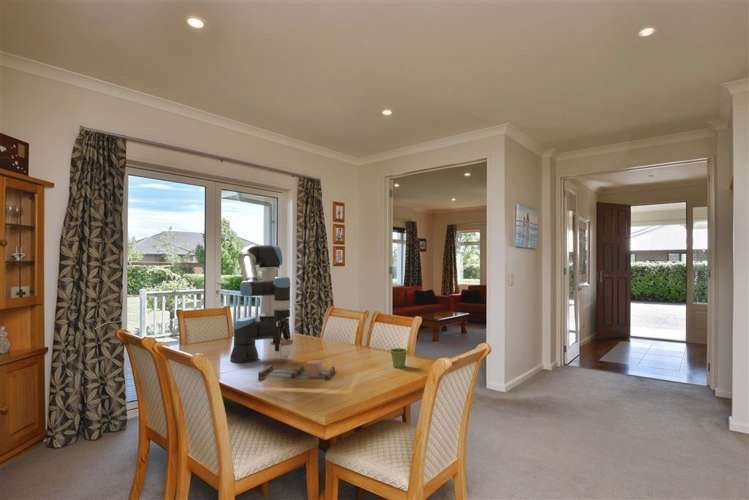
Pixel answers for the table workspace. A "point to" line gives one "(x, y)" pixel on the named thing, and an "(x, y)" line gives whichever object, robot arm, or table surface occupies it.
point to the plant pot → (398, 357)
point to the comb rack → (292, 373)
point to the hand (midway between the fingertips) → (281, 355)
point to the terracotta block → (313, 368)
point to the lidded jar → (283, 347)
